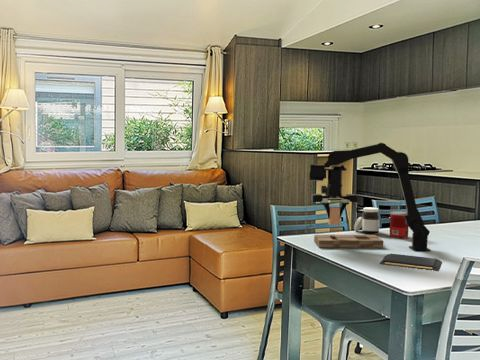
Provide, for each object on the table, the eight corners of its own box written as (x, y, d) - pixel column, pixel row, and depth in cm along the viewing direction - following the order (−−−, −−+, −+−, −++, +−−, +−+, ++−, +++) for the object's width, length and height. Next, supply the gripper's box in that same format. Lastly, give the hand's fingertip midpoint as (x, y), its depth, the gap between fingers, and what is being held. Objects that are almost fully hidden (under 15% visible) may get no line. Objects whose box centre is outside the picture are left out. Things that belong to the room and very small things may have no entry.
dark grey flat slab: (443, 257, 172) (438, 268, 159) (442, 263, 172) (438, 273, 159) (386, 251, 181) (377, 260, 168) (386, 256, 182) (377, 265, 168)
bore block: (383, 248, 192) (383, 240, 192) (319, 248, 191) (319, 240, 191) (374, 241, 204) (374, 234, 203) (314, 241, 203) (314, 234, 203)
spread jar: (379, 235, 217) (380, 210, 216) (354, 234, 219) (354, 209, 218) (377, 230, 228) (378, 206, 227) (353, 229, 231) (354, 205, 230)
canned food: (410, 238, 210) (411, 214, 209) (392, 238, 210) (393, 214, 209) (404, 235, 218) (405, 211, 217) (387, 234, 218) (388, 211, 217)
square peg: (339, 224, 195) (340, 208, 194) (329, 224, 195) (330, 208, 194) (337, 223, 199) (337, 206, 198) (328, 223, 199) (328, 206, 198)
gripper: (352, 179, 203) (351, 215, 205) (309, 179, 203) (308, 215, 204) (359, 182, 192) (358, 220, 194) (313, 181, 192) (312, 219, 193)
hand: (333, 218), depth 197 cm, fingers closed on square peg, 4 cm apart
